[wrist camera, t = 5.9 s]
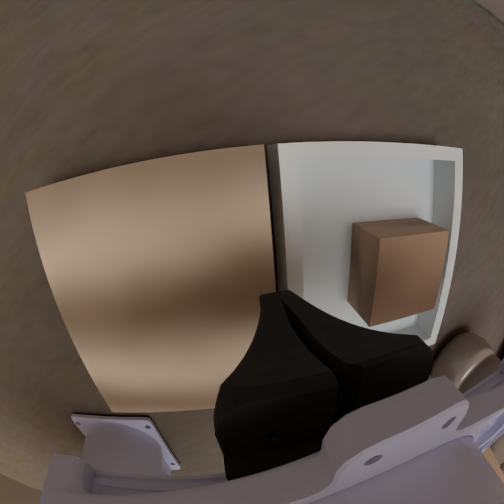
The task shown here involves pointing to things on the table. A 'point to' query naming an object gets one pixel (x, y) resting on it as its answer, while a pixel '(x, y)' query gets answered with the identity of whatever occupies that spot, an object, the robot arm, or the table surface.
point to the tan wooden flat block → (160, 272)
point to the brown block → (395, 268)
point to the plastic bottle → (469, 370)
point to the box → (358, 215)
